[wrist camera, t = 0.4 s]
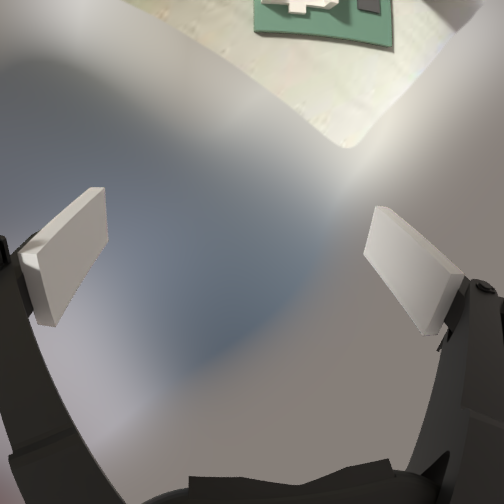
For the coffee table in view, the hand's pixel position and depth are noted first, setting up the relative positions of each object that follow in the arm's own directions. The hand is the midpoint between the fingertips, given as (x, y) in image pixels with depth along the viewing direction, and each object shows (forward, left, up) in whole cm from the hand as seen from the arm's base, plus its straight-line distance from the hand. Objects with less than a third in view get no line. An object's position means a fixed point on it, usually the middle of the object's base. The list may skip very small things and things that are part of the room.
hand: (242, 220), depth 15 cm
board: (-23, +12, -27) cm, 38 cm away
